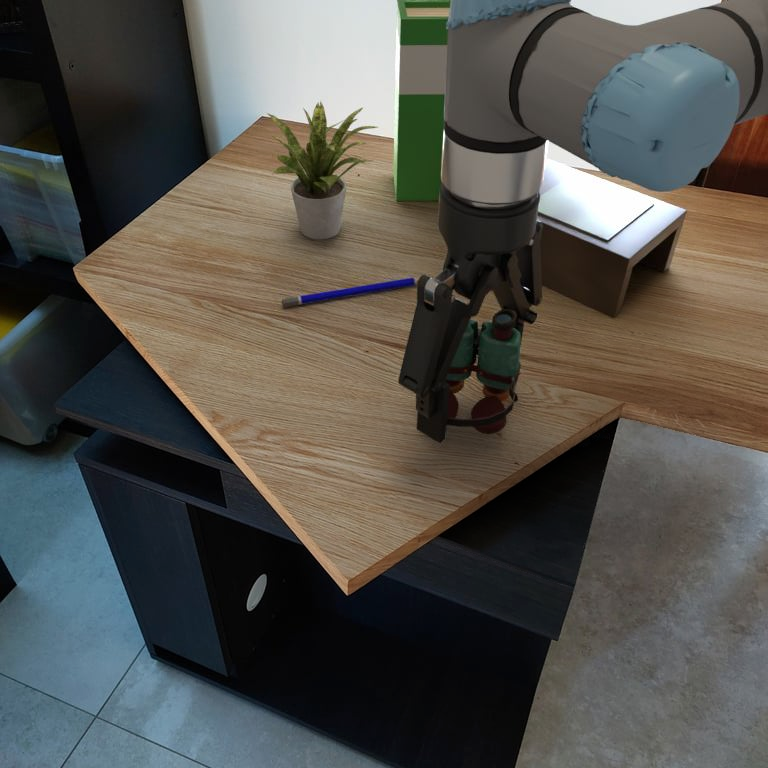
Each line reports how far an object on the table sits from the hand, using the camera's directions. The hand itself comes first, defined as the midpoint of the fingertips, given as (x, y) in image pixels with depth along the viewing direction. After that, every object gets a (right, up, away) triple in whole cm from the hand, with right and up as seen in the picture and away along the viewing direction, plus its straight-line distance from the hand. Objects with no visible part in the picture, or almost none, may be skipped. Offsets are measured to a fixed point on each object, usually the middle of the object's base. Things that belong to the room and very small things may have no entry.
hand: (468, 402), depth 73 cm
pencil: (-11, +12, +19) cm, 25 cm away
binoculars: (0, -1, +1) cm, 2 cm away
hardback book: (+3, +30, +39) cm, 49 cm away
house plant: (-15, +22, +29) cm, 39 cm away
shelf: (+15, +18, +26) cm, 35 cm away
